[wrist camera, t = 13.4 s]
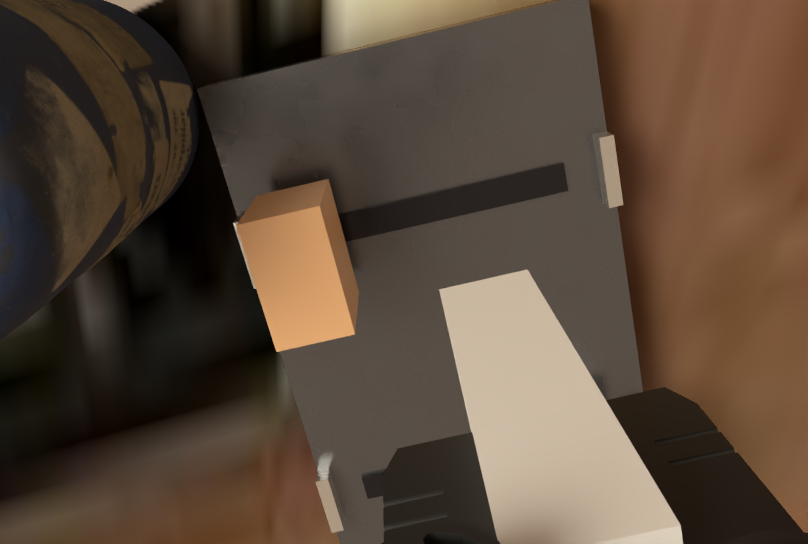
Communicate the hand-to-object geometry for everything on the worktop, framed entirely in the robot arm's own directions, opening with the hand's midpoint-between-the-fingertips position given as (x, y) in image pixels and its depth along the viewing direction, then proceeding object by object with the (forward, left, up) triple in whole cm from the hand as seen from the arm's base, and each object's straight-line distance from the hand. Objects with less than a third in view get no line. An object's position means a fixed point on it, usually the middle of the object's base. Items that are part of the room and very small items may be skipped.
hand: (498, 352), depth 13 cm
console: (-1, -8, -22) cm, 23 cm away
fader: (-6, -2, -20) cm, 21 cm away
